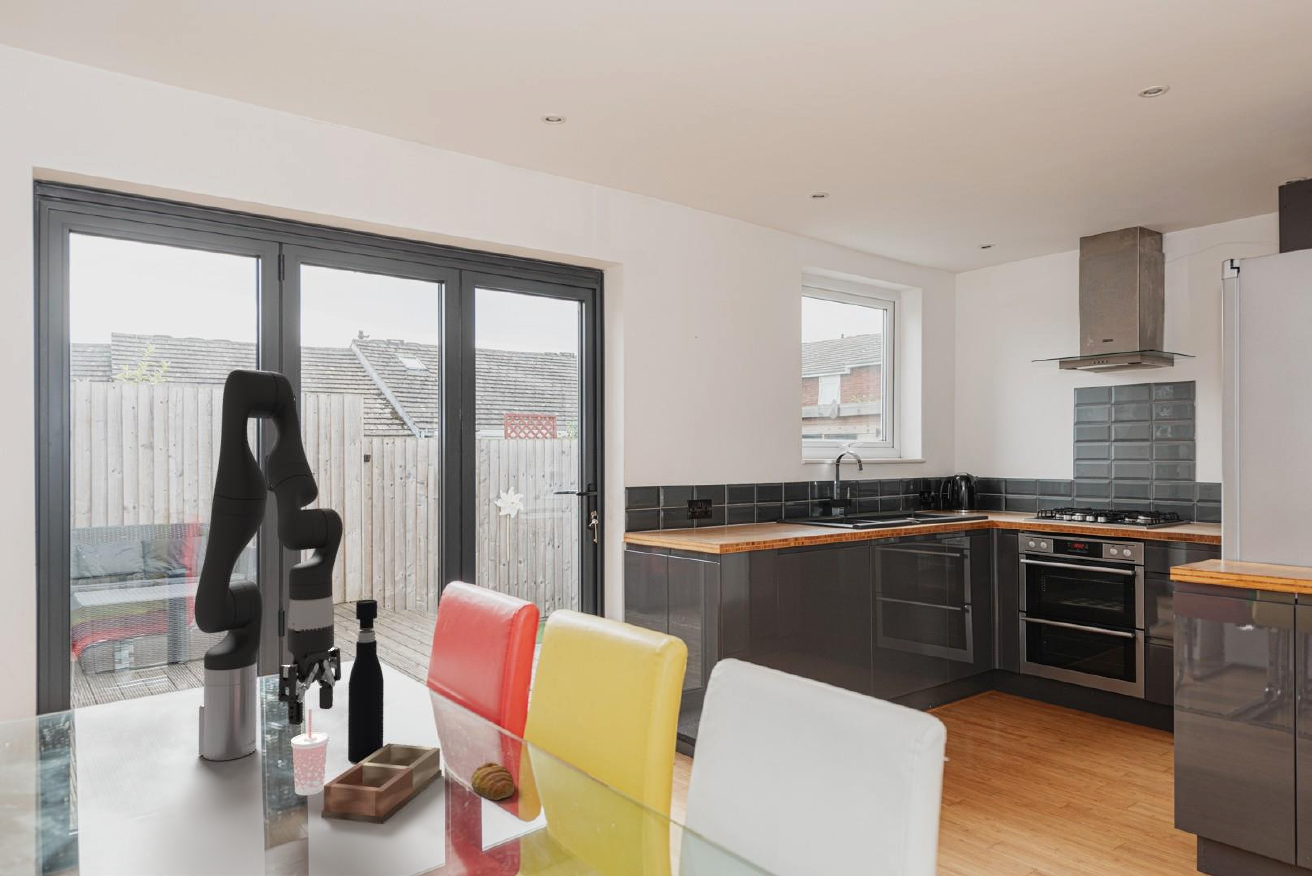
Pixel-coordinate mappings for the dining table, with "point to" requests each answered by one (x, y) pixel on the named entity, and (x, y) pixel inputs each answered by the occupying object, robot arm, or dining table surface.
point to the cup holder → (381, 783)
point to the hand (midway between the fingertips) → (311, 716)
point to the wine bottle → (365, 689)
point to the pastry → (492, 781)
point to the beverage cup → (309, 761)
